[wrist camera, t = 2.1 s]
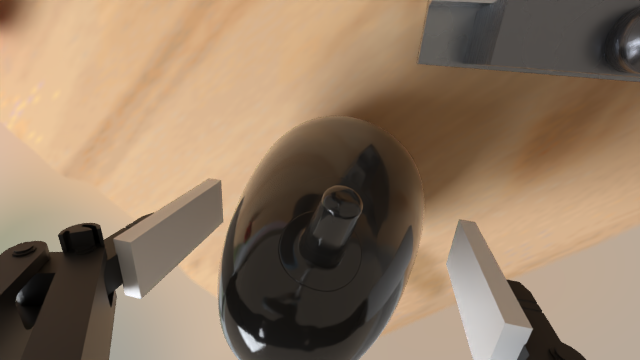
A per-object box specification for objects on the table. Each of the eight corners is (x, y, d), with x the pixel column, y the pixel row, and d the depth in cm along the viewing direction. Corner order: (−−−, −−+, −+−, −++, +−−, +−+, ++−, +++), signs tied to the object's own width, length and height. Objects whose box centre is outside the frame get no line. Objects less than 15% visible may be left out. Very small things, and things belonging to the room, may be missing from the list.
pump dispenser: (447, 137, 20) (578, 319, 6) (381, 254, 24) (367, 516, 10) (305, 80, 20) (125, 123, 7) (266, 204, 25) (108, 387, 11)
